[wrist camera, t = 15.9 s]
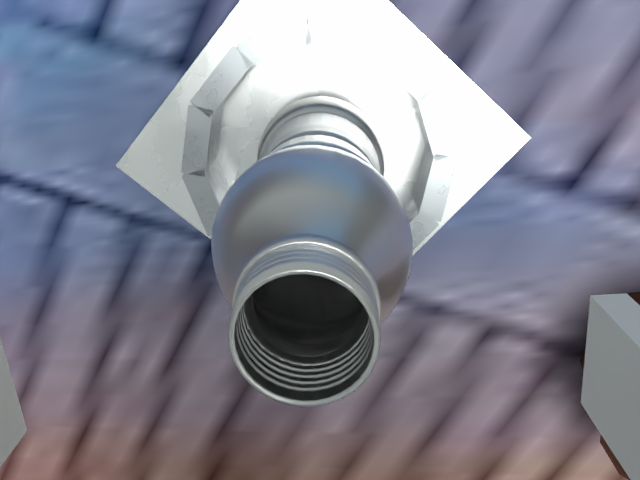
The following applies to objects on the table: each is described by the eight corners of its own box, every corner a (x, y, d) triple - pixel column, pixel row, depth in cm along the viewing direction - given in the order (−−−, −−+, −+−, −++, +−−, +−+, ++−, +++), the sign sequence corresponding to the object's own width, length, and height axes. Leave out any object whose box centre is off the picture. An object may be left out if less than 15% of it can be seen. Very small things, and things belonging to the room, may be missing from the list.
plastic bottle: (274, 218, 34) (200, 472, 15) (251, 98, 32) (131, 223, 13) (388, 203, 33) (455, 445, 15) (373, 79, 31) (431, 182, 12)
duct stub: (333, 326, 37) (333, 361, 34) (121, 161, 34) (95, 180, 30) (525, 134, 33) (549, 149, 29) (303, -80, 29) (298, -92, 26)
